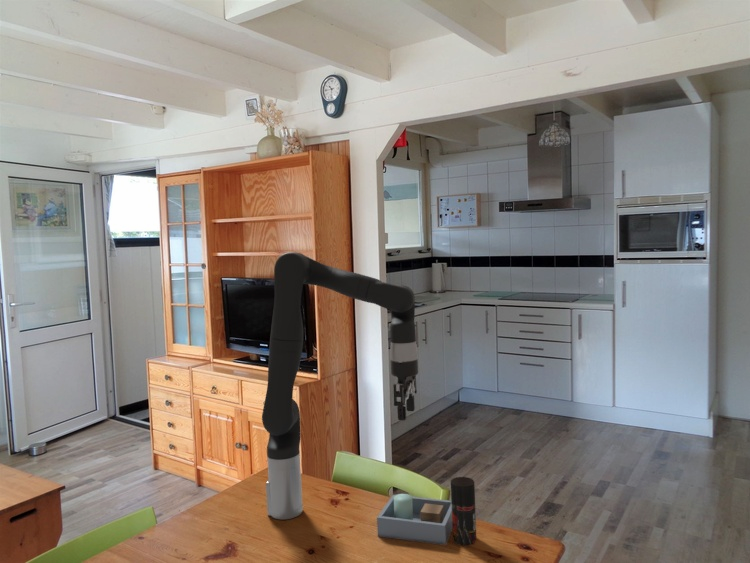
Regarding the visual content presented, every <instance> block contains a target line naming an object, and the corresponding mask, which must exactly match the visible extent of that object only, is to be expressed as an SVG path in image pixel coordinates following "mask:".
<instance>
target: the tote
mask: <svg viewBox="0 0 750 563" xmlns="http://www.w3.org/2000/svg"><path fill="white" fill-rule="evenodd" d="M396 495H397V494H392V496H391V497H390V498H389V500H388V501H387V502H386V504H385V505H384V507H383V508H382V510H381V511H380V513H379V514H378V515H377V517H376V524H377V525H376V527H377V528H376V529H377V537H382V538H389V539H397V540H402V541H403V540H404V541H411V542H412V541H413V542H417V541H418V543H424V542H427V543H426V544H432V543H434V545H439V544H442V545H441V546H446V545H447V544H448V541H449V539H450V537H449V536H451V534H452V532H453V529H452V504H451V500H448V499H437V498H428V497H419V496H418V497H417V496H412V504H413V520H409V519H401V518H394V496H396ZM425 503H426V504H435V505H443V509H444V520H443V522H442V523H434V522H426V521H421V514H420V512H421V510H422V508H423V506H424V505H425ZM451 531H452V532H451ZM446 543H447V544H446Z"/></svg>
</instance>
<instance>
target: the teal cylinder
mask: <svg viewBox="0 0 750 563" xmlns="http://www.w3.org/2000/svg"><path fill="white" fill-rule="evenodd" d="M395 495H396V496H394V518H401V519H409V520H413V504H412V497H413V496H412V495H411V494H407V493H398V494H395Z"/></svg>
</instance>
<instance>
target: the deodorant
mask: <svg viewBox="0 0 750 563" xmlns="http://www.w3.org/2000/svg"><path fill="white" fill-rule="evenodd" d="M475 490H476V489H475V480H474V479H472V478H471V477H466V476H456V477H453V478H452V479H451V480H450V499H451V500H450V501H451V504H452V541H453V543H455V544H456V545H459V546H462V547H463V546H465V547H466V546H472V545H474V544H476V542H477V520H476V518H477V517H476V516H477V514H476V492H475Z"/></svg>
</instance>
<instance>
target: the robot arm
mask: <svg viewBox="0 0 750 563" xmlns="http://www.w3.org/2000/svg"><path fill="white" fill-rule="evenodd" d="M273 279H274V280H273V281H274V282H273V283H274V286H273V287H274V300H273V301H274V303H273V311H272V319H271V329H270V335H269V336H270V337H269V345H268V346H269V349H268V350H269V351H268V369H267V386H266V394H265V399H264V404H263V409H262V414H261V422H262V426H263V427H264V429H265V431H266V432H267V433H268V434H269V436H268V440H267V446H266V460H267V474H268V475H267V476H268V480H267V481H266V482H265V494H266V511H267V515H268V516H270V517H271V518H272V519H275V520H291V519H294V518H297V517H298V516H301V514H302V513H303V509H304V508H303V490H302V475H301V474H302V472H301V471H302V470H301V457H300V456H301V455H300V444H301V438H302V437H301V414H300V412H301V411H300V407H299V405H298V403H297V401H296V400H294V399H293V397H294V396H293V393H294V385H295V380H296V377H297V376H298V375H297V374H298V372H299V368H300V363H301V361H302V354H303V345H304V325H303V324H304V323H303V317H302V316H303V315H302V312H301V311H302V310H301V309H302V308H301V298H302V292H303V285H311V286H318V287H321V288H325V289H329V290H331V291H334V292H336V293H338V294H341V295H343V296H346V297H348V298H352V299H355V300H358V301H362V302H365V303H368V304H369V303H370V304H374V305H376V306H379V307H381V308H384V309H387V310H390V317H391V318H390V319H391V321H390V322H391V323H390V326H389V327H390V328H389V329H390V330H389V331H390V333H389V334H390V348H389V353H390V354H389V356H390V373H391V375H392V376H393V377H396V378H397V381H396V383H394V384H393V406H394V407H397V420H398V421H406V420H407V411H408V412H414V411H415V409H416V407H415V406H416V405H415V398H416V394H418V393H417V392H418V391H417V379H416V378H417V377H416V376H417V375H418V373H419V362H418V360H419V358H418V346H417V335H416V334H417V333H416V331H417V330H416V325H415V314H416V313H415V309H416V305H415V304H416V303H415V302H416V301H415V300H416V299H415V293H414V291H413V290H412V289H411V288H410V287H409V286H407V285H402V284H401V285H396V284H395V285H394V284H391V283H387V282H384V281H381V280H380V279H377V278H374V277H373V276H372V277H371V276H368V275H365V274H361V273H357V272H353V271H349V270H344V269H340V268H336V267H333V266H329V265H327V264H324V263H321V262H320V261H317V260H315V259H313V258H310V257H309V256H306V255H304V254H303V253H301V252H296V251H295V252H291V251H290V252H285V253H283V254H281V255H279V257H278V258H277V260H276V261H275V264H274V268H273Z"/></svg>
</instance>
